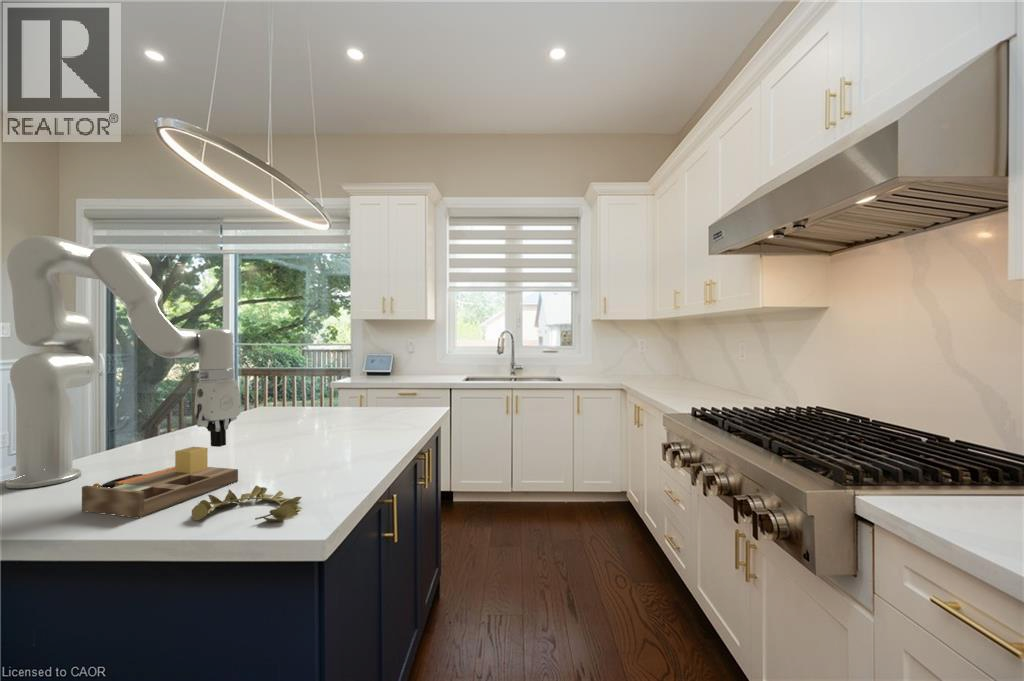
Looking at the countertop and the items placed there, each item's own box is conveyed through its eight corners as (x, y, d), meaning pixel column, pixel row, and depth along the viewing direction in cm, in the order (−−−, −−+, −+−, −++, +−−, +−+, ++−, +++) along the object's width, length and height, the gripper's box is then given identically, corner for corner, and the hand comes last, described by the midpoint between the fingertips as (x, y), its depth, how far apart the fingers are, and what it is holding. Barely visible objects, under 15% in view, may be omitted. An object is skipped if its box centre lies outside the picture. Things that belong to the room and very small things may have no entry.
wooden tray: (81, 511, 87) (81, 486, 87) (188, 477, 110) (188, 457, 110) (139, 518, 84) (139, 492, 84) (237, 481, 106) (238, 461, 106)
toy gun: (162, 464, 117) (187, 465, 113) (162, 472, 117) (188, 473, 113) (91, 481, 102) (118, 483, 99) (91, 491, 102) (119, 493, 99)
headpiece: (285, 533, 81) (324, 506, 96) (288, 511, 81) (325, 487, 96) (177, 522, 82) (231, 497, 97) (179, 500, 82) (233, 478, 97)
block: (175, 471, 104) (175, 451, 104) (192, 466, 109) (192, 446, 109) (190, 473, 103) (190, 452, 103) (207, 467, 108) (207, 447, 108)
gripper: (202, 378, 105) (203, 453, 105) (251, 373, 120) (253, 439, 120) (177, 378, 107) (179, 452, 107) (229, 373, 121) (230, 438, 121)
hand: (218, 445), depth 113 cm, fingers closed
